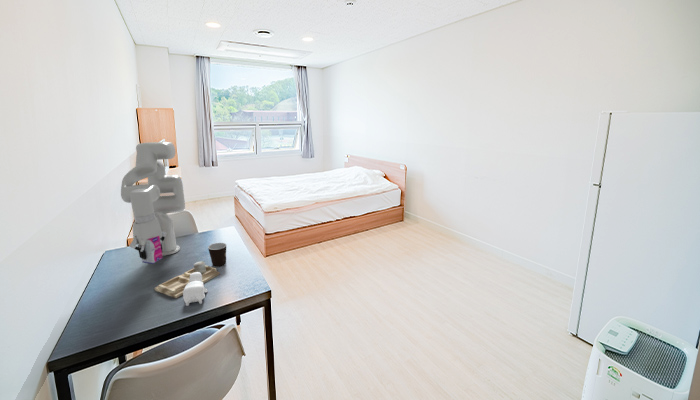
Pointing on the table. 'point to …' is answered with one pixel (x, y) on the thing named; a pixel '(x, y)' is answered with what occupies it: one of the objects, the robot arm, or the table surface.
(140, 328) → the table surface
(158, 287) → the beech caddy
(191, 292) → the white figurine
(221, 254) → the coffee mug
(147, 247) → the supplement box
